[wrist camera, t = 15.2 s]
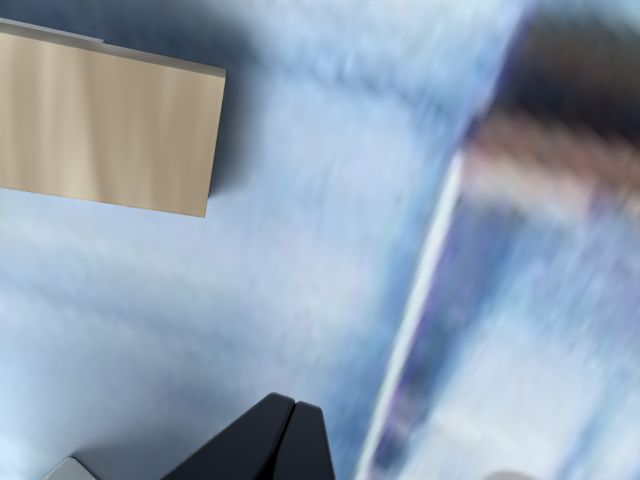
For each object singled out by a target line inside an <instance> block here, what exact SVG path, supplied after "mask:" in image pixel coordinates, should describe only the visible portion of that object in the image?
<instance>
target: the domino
mask: <svg viewBox="0 0 640 480" xmlns="http://www.w3.org/2000/svg"><path fill="white" fill-rule="evenodd" d="M226 70H227V69H225V68H220V67H216V66H211V65H206V64H201V63H196V62H191V61H187V60H182V59H177V58H172V57H167V56H163V55H158V54H153V53H148V52H143V51H138V50H134V49H129V48H124V47H119V46H114V45H110V44H105V43H100V42H95V41H90V40H85V39H81V38H76V37H71V36H66V35H61V34H57V33H52V32H47V31H42V30H37V29H32V28H28V27H23V26H18V25H13V24H8V23H4V22H0V188H6V189H13V190H20V191H26V192H33V193H40V194H47V195H53V196H60V197H67V198H74V199H81V200H87V201H94V202H101V203H108V204H114V205H121V206H128V207H135V208H142V209H148V210H155V211H162V212H169V213H176V214H182V215H189V216H196V217H203V218H205V213H206V206H207V200H208V193H209V186H210V179H211V173H212V166H213V159H214V153H215V146H216V139H217V133H218V126H219V119H220V112H221V106H222V99H223V92H224V86H225V79H226Z"/></svg>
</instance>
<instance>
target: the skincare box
mask: <svg viewBox="0 0 640 480" xmlns="http://www.w3.org/2000/svg"><path fill="white" fill-rule="evenodd" d="M42 480H97V479H96V478H95V477H93V476H92V475H91V474H90V473H89V472H88V471H87V470H86V469H85V468H84V467H83V466H82V465H81V464H80V463H79V462H77V461H76V460H75V459H73V458H71V457H66V458H65V459H64V460H63V461H62V462H61V463H59V464H58V465H57V466H56V467H55V468H54V469H53V470H52V471H51V472H50V473H48V474H47V475H46V476H45V477H44V478H43V479H42Z"/></svg>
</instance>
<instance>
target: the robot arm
mask: <svg viewBox="0 0 640 480" xmlns="http://www.w3.org/2000/svg"><path fill="white" fill-rule="evenodd" d="M159 480H336V477H335V472H334V467H333V462H332V457H331V452H330V447H329V442H328V437H327V432H326V427H325V422H324V417H323V412H322V409H321V408H320V407H318V406H315V405H312V404H309V403H306V402H303V401H298V402H297V403H296V404H295V400H294V399H293V398H291V397H288V396H285V395H282V394H278V393H275V392H273V393H270V394H268V395H267V396H266V397H264V398H263V399H262V400H261V401H259V402H258V403H257V404H255V405H254V406H253V407H252V408H250V409H249V410H248V411H246V412H245V413H244V414H243V415H241V416H240V417H239V418H237V419H236V420H235V421H234V422H232V423H231V424H230V425H228V426H227V427H226V428H225V429H223V430H222V431H221V432H219V433H218V434H217V435H216V436H214V437H213V438H212V439H210V440H209V441H208V442H207V443H205V444H204V445H203V446H201V447H200V448H199V449H198V450H196V451H195V452H194V453H192V454H191V455H190V456H188V457H187V458H186V459H185V460H183V461H182V462H181V463H179V464H178V465H177V466H176V467H174V468H173V469H172V470H170V471H169V472H168V473H167V474H165V475H164V476H163V477H161V478H160V479H159Z"/></svg>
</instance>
